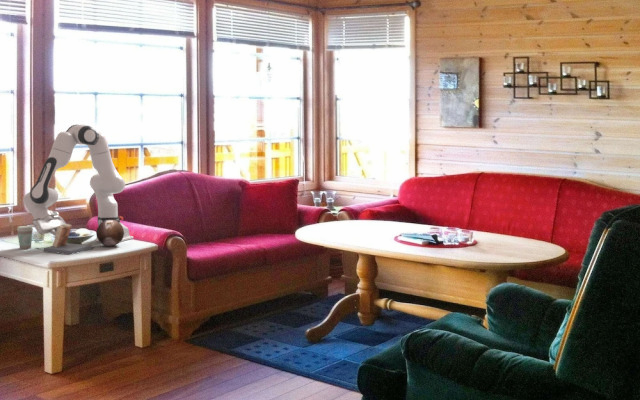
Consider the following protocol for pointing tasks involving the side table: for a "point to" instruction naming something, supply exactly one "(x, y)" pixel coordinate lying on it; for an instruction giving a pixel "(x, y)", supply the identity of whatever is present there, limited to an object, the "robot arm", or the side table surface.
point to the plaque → (62, 235)
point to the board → (68, 248)
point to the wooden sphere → (110, 232)
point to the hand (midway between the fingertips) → (59, 236)
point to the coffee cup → (25, 236)
